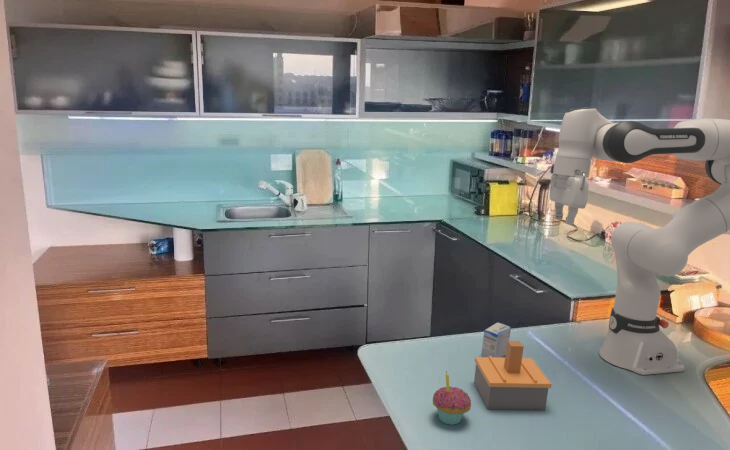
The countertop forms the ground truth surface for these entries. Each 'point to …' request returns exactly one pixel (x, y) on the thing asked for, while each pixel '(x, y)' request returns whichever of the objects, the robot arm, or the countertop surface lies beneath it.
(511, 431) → the countertop surface
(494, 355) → the medicine box
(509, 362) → the lid
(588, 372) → the countertop surface
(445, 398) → the cupcake
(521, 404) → the tub
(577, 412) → the countertop surface
